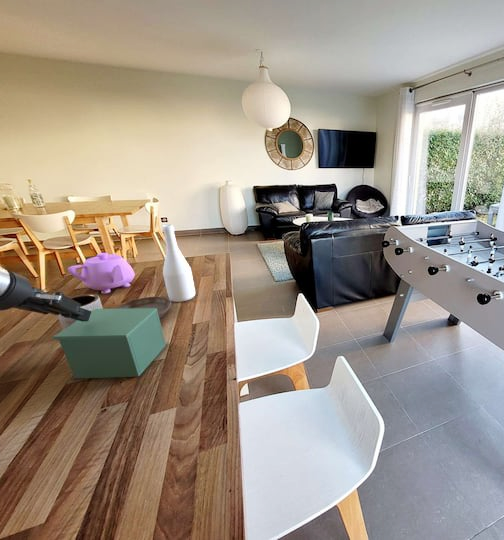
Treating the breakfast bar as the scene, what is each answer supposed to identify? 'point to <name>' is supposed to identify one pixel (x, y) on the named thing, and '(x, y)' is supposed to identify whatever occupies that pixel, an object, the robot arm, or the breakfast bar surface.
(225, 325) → the breakfast bar surface
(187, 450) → the breakfast bar surface
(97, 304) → the planter
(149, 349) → the green open box
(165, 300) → the plant saucer
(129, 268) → the teapot
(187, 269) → the wine bottle
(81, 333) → the lid
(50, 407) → the breakfast bar surface
